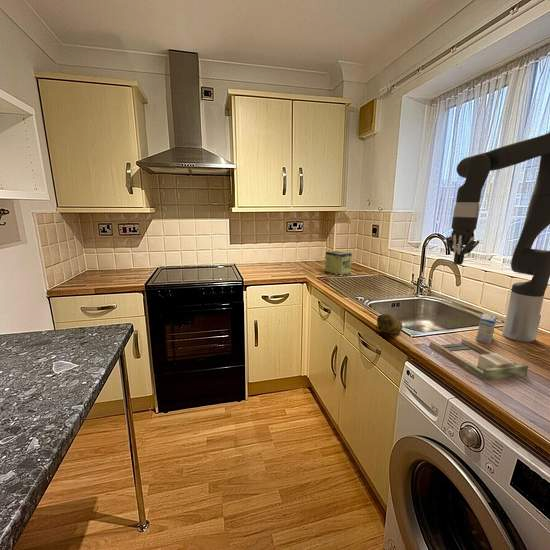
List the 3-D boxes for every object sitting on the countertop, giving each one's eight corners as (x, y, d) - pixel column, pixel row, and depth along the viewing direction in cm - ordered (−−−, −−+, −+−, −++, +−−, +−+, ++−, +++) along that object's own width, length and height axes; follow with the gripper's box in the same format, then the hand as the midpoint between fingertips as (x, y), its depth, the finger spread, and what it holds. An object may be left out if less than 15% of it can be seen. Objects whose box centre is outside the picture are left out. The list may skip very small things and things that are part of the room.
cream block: (493, 364, 92) (495, 353, 91) (512, 375, 86) (514, 362, 86) (477, 366, 91) (479, 354, 90) (495, 377, 85) (497, 364, 84)
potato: (411, 335, 113) (413, 315, 111) (383, 339, 108) (386, 319, 106) (395, 326, 120) (397, 307, 118) (368, 331, 115) (370, 311, 114)
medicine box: (478, 334, 115) (482, 312, 113) (492, 337, 112) (497, 315, 110) (476, 340, 109) (480, 318, 107) (490, 344, 106) (495, 321, 104)
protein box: (341, 276, 206) (342, 254, 202) (324, 272, 218) (325, 251, 214) (350, 274, 212) (352, 253, 209) (333, 271, 224) (334, 250, 221)
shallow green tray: (464, 342, 107) (465, 334, 106) (526, 375, 86) (528, 365, 86) (429, 345, 104) (430, 337, 103) (485, 380, 83) (487, 370, 83)
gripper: (491, 216, 99) (482, 267, 103) (459, 215, 112) (452, 260, 116) (472, 216, 98) (463, 268, 102) (442, 215, 110) (435, 261, 114)
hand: (457, 264), depth 109 cm, fingers closed
